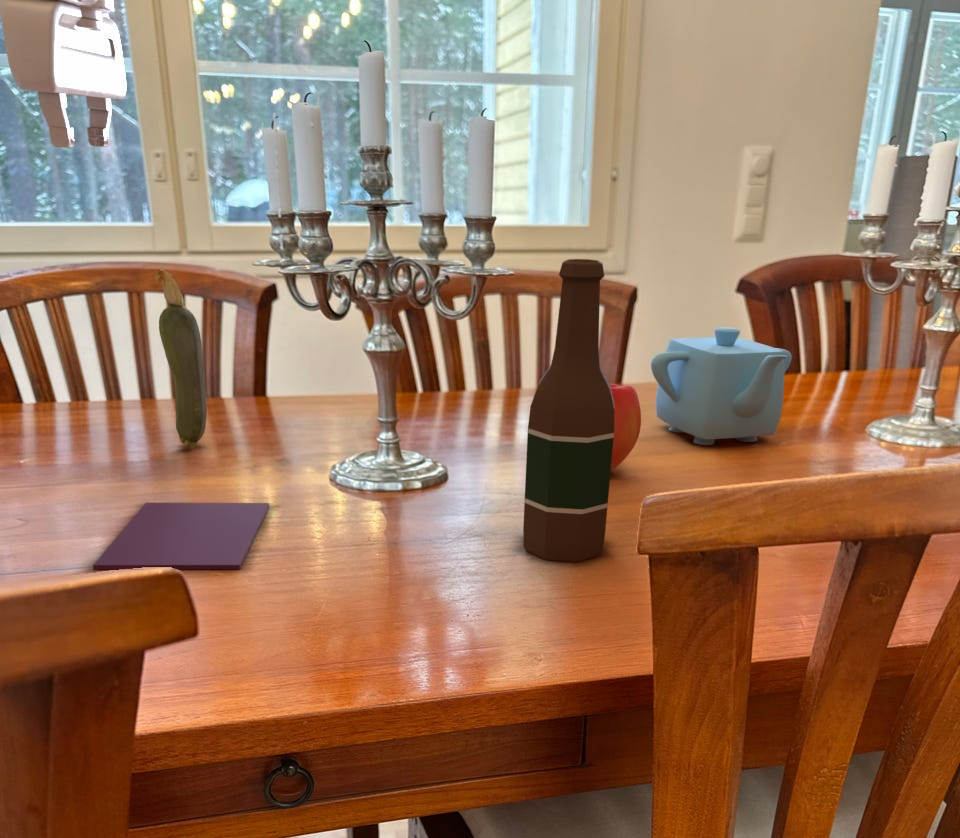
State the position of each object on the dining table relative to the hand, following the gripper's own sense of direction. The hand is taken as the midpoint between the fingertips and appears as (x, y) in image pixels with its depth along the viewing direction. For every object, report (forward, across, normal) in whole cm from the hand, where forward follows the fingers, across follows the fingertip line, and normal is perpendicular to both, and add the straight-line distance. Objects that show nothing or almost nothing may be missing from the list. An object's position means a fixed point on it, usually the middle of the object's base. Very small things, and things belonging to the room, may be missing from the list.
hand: (82, 146), depth 94 cm
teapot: (+27, -9, +76) cm, 81 cm away
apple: (+28, +7, +58) cm, 64 cm away
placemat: (+29, +31, +18) cm, 47 cm away
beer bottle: (+27, +32, +52) cm, 67 cm away
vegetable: (+31, +3, +10) cm, 33 cm away
